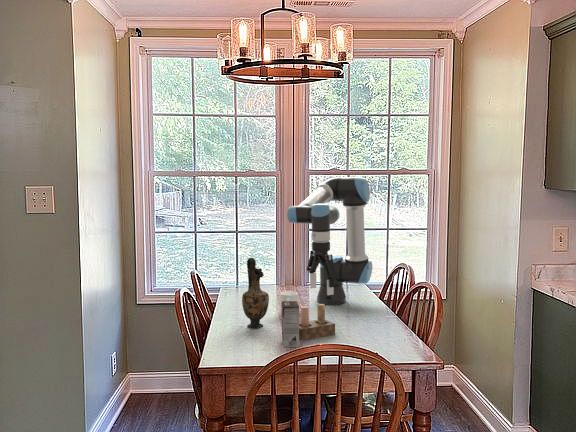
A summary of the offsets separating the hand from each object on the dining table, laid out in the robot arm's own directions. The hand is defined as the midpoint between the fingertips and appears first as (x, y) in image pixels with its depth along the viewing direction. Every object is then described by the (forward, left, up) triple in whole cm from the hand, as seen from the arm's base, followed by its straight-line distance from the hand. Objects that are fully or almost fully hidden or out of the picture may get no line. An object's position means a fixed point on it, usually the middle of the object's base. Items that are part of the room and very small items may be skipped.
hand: (321, 291), depth 230 cm
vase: (+20, -23, -18) cm, 35 cm away
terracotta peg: (+8, 0, -18) cm, 20 cm away
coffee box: (+18, +6, -18) cm, 26 cm away
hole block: (+4, 0, -18) cm, 18 cm away
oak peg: (0, 0, -18) cm, 18 cm away
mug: (-1, -31, -18) cm, 36 cm away
